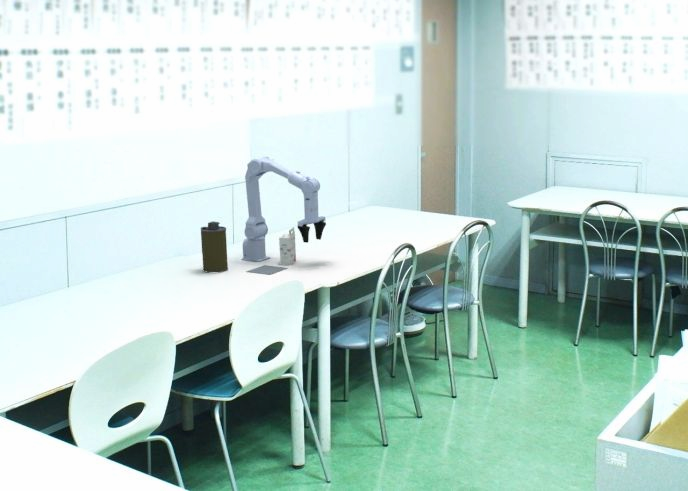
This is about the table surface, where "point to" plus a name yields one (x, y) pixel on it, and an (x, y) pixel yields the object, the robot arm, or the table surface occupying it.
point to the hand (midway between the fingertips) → (312, 240)
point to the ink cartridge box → (287, 248)
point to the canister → (214, 248)
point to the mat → (267, 270)
